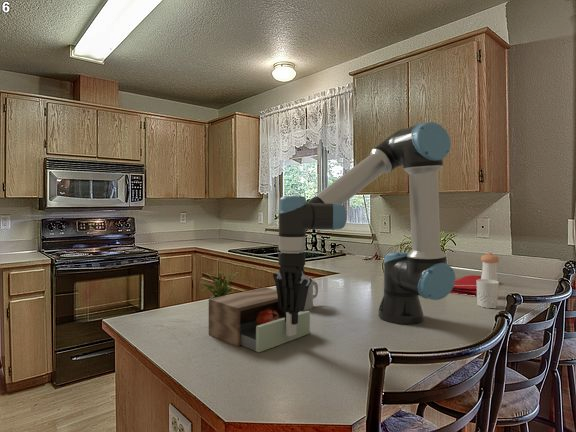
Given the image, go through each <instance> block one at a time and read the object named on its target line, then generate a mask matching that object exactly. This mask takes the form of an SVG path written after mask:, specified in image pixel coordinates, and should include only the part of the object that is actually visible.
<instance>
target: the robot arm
mask: <svg viewBox="0 0 576 432" xmlns="http://www.w3.org/2000/svg"><path fill="white" fill-rule="evenodd" d="M451 142H452V141H451V138H450V134H449V133H448V131H447V130H446V129H445V128H444V127H443V126H442V125H441V124H439V123H437V122H432V121H428V122H422V123H417V124H415V125H412V126H409V127H406V128H402V129H401V128H400V129H399V130H397V131H395V132H393V133H391V135H389V136H388V137H387V138H385V139H384V140H382V141H381V142H380V143H379V144H378V145H376V146H375V147H374V148H372V149H371V150H370V153H369V155H368V156H367V157H365V158H364V159H363V160H361V161H360V162H359V163H357V164H355V166H353V167H352V168H351V169H349V170H347V172H345V173H344V174H343V175H341V176H340V177H339V178H337V179H336V180H335V181H333V182H332V183H331V184H329V185H328V186H327V187H325V188H324V189H322V190H321V191H320V192H318V193H317V194H315V195H314V196H313V197H311V198H310V199H309V200H307V198H306V196H303V195H302V196H301V195H299V196H298V195H297V196H296V195H283V196H281V197H280V198H279V203H278V212H277V214H278V250H279V252H278V265H279V266H280V267H279V268H278V269H279V270H278V272H275V273H273V274H272V278H273V280H274V282H275V288H276V289H275V290H277V296H278V302H279V307H280V308H283V309H284V311H285V322H286V335H287V336H293V335H296V324H298V313H301V312H304V311H305V310H304V308H305V303H306V298H307V293H308V288H309V285H310V284H311V282H312V279H313V278H312V277H310V278H307V277H308V276H306V275H305V274H306V272H305V268H304V267H305V265H306V253H305V250H306V235H307V234H306V231H311V230H312V231H313V230H317V231H319V230H322V231H323V230H325V231H327V230H331V231H335V230H341V229H343V228H345V226H346V224H347V218H348V217H347V216H348V213H347V210H346V207H345V206H344V205H343V204H345V203H346V202H347V201H349V200H350V199H351V198H353V197H354V196H355V195H357V194H358V193H360V192H361V191H362V190H363V189H365V188H366V187H367V186H369V184H371V183H372V182H374V181H375V180H377V179H378V178H379V177H380V176H381V175H383V174H389V173H390V172H392V171H393V170H395V169H397V168H399V167H403V171H405V172H406V173H407V174H408V187H409V192H408V193H409V209H410V210H409V213H410V215H409V216H410V235H411V236H410V238H411V239H410V240H411V241H410V243H411V250H410V251H408V252H407V251H406V252H402V251H401V252H388V253H386V254H384V255H385V256H384V260H383V266H384V267H383V271H384V272H383V274H384V275H383V296H382V299H381V302H380V304H379V308H378V312H377V313H378V314H377V315H378V316H377V317H379V318H380V319H381V320H383V321H385V322H389V323H395V324H400V325H401V324H405V325H411V324H420V323H421V322H423V321H424V311H423V307H422V304H421V302H420V298H419V297H421V298H423V299H427V300H433V301H439V300H442V299H444V298H446V297H448V295H449V294H450V293H449V292H450V291H451V290H452V289H453V287H454V284H455V281H456V273H455V271H454V269H453V268H452V266H450V265H449V264H448V263H447V254H446V253H445V252H444V251H443V250H442V248H441V227H440V226H441V225H440V223H441V221H440V198H439V197H440V196H439V193H440V192H439V171H441V169H442V168H443V167H444V159H445V157H447V156H448V153H450V150H451V144H452V143H451ZM311 278H312V279H311Z"/></svg>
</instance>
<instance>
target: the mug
mask: <svg viewBox="0 0 576 432" xmlns="http://www.w3.org/2000/svg"><path fill="white" fill-rule="evenodd" d="M306 277H307V278H311V279H312V282H311V284H310V285H309V288H308V293H307V298H306V303H305V308H304V310H303V311H309V310H311V309H313V308H314V299H315V298H317V296H318V293H319V285H318V283H317V281H315V280H314V279H313V278H312V277H309V276H306Z"/></svg>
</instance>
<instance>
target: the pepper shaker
mask: <svg viewBox="0 0 576 432" xmlns="http://www.w3.org/2000/svg"><path fill="white" fill-rule="evenodd" d="M480 260H481V262H482V271H481V275H480V276H481V279H488V280H495V281H498V282H499V278H498V273H497V271H498V263H499V261H500V258H499V256H498V255H495V254H493V252H488V253H487V254H483V255H482V256H481V257H480ZM499 291H500V290H498V295H499Z"/></svg>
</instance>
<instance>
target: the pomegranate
mask: <svg viewBox="0 0 576 432" xmlns="http://www.w3.org/2000/svg"><path fill="white" fill-rule="evenodd" d="M278 319H280V318H279V315H278V313H277V312H276V311H275V310H270V309H263V310H261V311H260V312H259V313H258V315H257V316H256V325H257V326H258V325H262V324H265V323H268V322H271V321H275V320H278Z"/></svg>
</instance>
